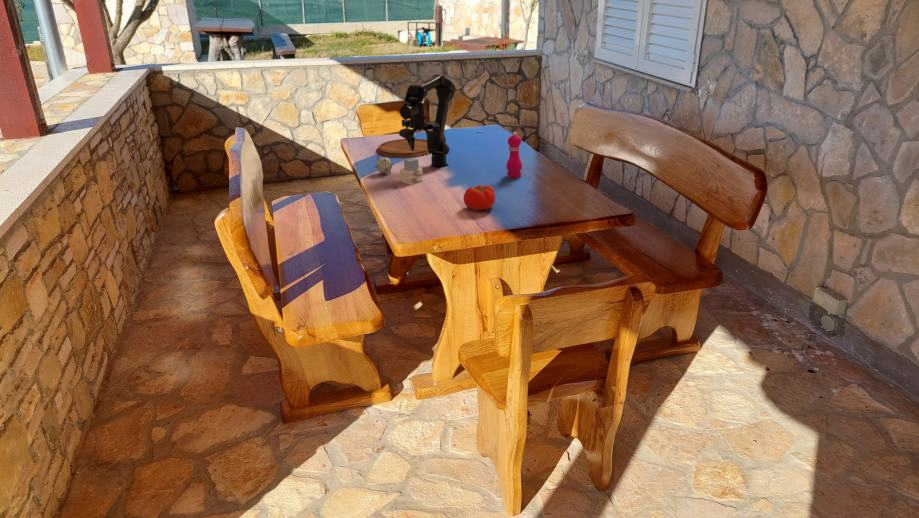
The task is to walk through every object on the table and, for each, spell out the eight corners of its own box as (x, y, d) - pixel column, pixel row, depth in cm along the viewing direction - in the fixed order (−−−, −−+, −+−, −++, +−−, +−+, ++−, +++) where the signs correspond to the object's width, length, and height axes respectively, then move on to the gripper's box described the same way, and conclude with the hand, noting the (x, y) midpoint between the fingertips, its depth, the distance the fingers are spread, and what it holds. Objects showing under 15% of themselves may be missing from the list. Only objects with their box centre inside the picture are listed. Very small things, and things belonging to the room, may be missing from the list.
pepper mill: (524, 174, 285) (525, 130, 276) (518, 179, 279) (519, 134, 270) (509, 173, 288) (509, 129, 279) (503, 177, 282) (503, 133, 273)
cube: (412, 167, 281) (412, 157, 279) (418, 169, 277) (418, 159, 276) (404, 169, 278) (403, 159, 276) (410, 171, 275) (409, 161, 273)
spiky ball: (388, 182, 292) (389, 169, 283) (371, 175, 292) (372, 162, 283) (395, 168, 296) (397, 155, 288) (379, 161, 296) (380, 148, 288)
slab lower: (412, 178, 285) (412, 172, 284) (422, 182, 280) (422, 175, 279) (400, 182, 281) (399, 175, 279) (409, 185, 276) (409, 179, 275)
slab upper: (411, 172, 284) (411, 166, 282) (422, 175, 279) (422, 168, 278) (400, 176, 279) (399, 169, 278) (411, 179, 275) (410, 172, 273)
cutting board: (403, 140, 350) (403, 135, 349) (450, 147, 333) (449, 142, 332) (363, 153, 327) (363, 148, 326) (411, 162, 309) (410, 157, 308)
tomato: (472, 216, 239) (472, 194, 235) (459, 206, 249) (458, 185, 246) (502, 210, 243) (502, 189, 240) (488, 201, 254) (488, 180, 250)
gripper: (423, 107, 288) (425, 141, 295) (390, 115, 277) (393, 149, 284) (439, 111, 280) (441, 145, 287) (405, 119, 269) (408, 154, 276)
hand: (420, 148), depth 284 cm, fingers open, 9 cm apart
